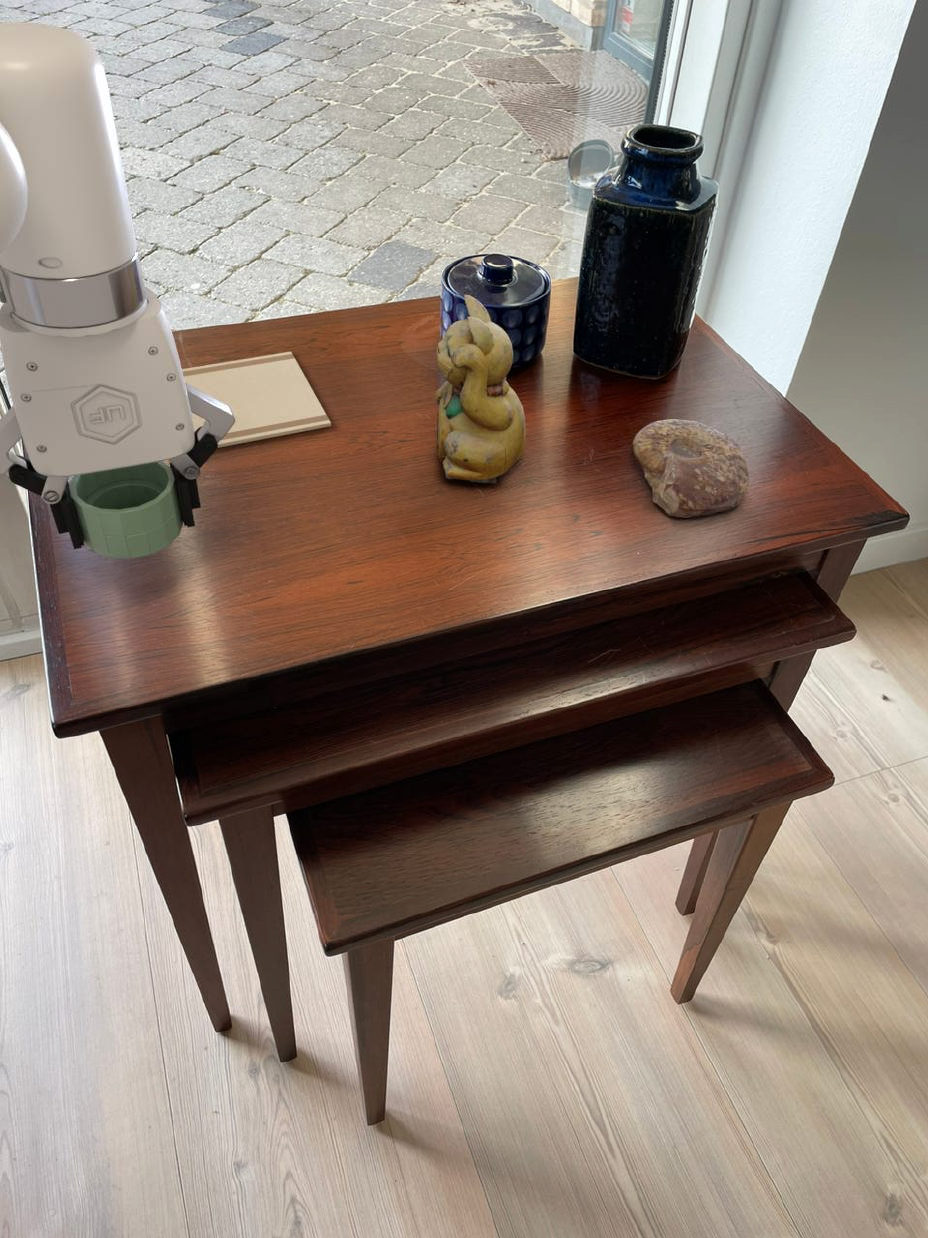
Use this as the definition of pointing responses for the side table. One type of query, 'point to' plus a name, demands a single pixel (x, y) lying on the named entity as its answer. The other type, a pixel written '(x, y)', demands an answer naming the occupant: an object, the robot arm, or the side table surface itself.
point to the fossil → (691, 467)
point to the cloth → (260, 397)
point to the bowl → (127, 509)
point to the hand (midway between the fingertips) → (132, 524)
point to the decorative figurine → (477, 400)
